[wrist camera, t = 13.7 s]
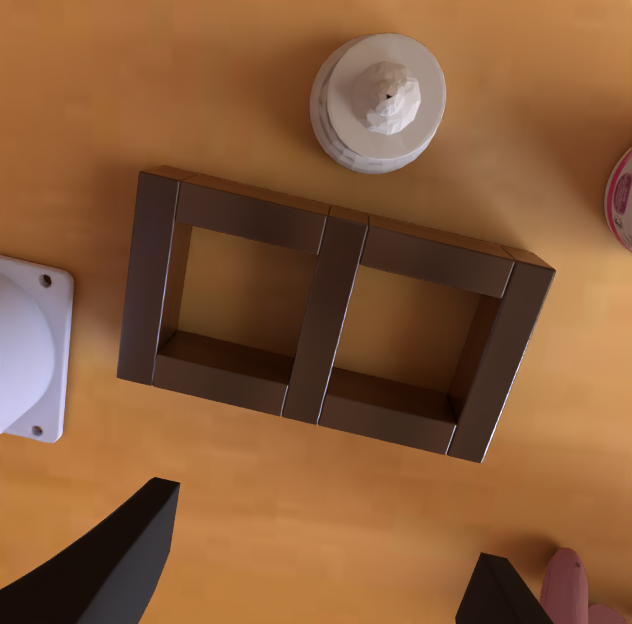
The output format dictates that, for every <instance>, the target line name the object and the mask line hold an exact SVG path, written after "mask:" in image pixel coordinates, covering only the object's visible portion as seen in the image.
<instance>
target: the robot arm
mask: <svg viewBox="0 0 632 624" xmlns="http://www.w3.org/2000/svg"><path fill="white" fill-rule="evenodd" d="M44 275H47V276H49V277H50V278H51V281H52V283H51V284H48V283H47V282H46V281H45V280H44ZM73 292H74V280H73V278H72V276H71V275H70V274H69V273H68V272H67V271H65V270H62V269H58V268H54V267H50V266H45V265H41V264H37V263H33V262H28V261H24V260H20V259H16V258H12V257H7V256H3V255H0V434H1V433H2V432H5V433H9V434H13V435H18V436H22V437H26V438H30V439H34V440H39V441H43V442H47V443H53V442H56V441H57V440H58V439H59V438H60V437H61V436H62V433H63V423H64V410H65V396H66V383H67V370H68V357H69V344H70V331H71V318H72V305H73ZM36 426H38V427H40V428H41V429H42V431H39V430H38V429H37V428H36ZM179 488H180V483H179V482H174V481H170V480H166V479H161V478H157V477H154V478H152V479H151V480H149V481H148V482H147V483H146V484H145V485H144V486H143V487H142V488H140V489H139V490H138V491H137V492H136V493H135V494H134V495H133V496H132V497H130V498H129V499H128V500H127V501H126V502H125V503H123V504H122V505H121V506H120V507H119V508H118V509H116V510H115V511H114V512H113V513H112V514H110V515H109V516H108V517H107V518H105V519H104V520H103V521H101V522H100V523H99V524H98V525H96V526H95V527H94V528H93V529H91V530H90V531H89V532H88V533H86V534H85V535H84V536H82V537H81V538H79V539H78V540H77V541H75V542H74V543H72V544H71V545H70V546H68V547H67V548H65V549H64V550H63V551H61V552H60V553H58V554H57V555H56V556H54V557H53V558H51V559H50V560H48V561H47V562H45V563H44V564H42V565H41V566H39V567H37V568H36V569H34V570H33V571H31V572H30V573H28V574H26V575H25V576H23V577H21V578H20V579H18V580H16V581H15V582H13V583H11V584H10V585H8V586H6V587H4V588H2V589H0V624H138V623H139V621H140V619H141V617H142V615H143V613H144V611H145V609H146V607H147V605H148V603H149V601H150V599H151V597H152V595H153V593H154V591H155V588H156V586H157V583H158V581H159V578H160V576H161V573H162V570H163V568H164V565H165V562H166V560H167V557H168V554H169V552H170V547H171V540H172V533H173V527H174V520H175V514H176V507H177V501H178V494H179ZM455 619H456V624H554V623H553V621H552V620H551V619H550V617H549V616H548V615H547V613H546V612H545V610H544V609H543V608H542V606H541V605H540V603H539V602H538V601H537V599H536V598H535V596H534V595H533V594H532V592H531V591H530V589H529V588H528V587H527V585H526V584H525V582H524V581H523V580H522V578H521V577H520V575H519V574H518V573H517V571H516V570H515V568H514V567H513V566H512V564H511V563H510V562H509V560H508V559H507V558H504V557H499V556H495V555H491V554H486V553H482V552H481V554H480V556H479V559H478V561H477V564H476V566H475V569H474V572H473V574H472V577H471V579H470V582H469V584H468V587H467V589H466V592H465V594H464V597H463V599H462V602H461V604H460V607H459V609H458V612H457V614H456V617H455Z"/></svg>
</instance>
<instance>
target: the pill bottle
mask: <svg viewBox="0 0 632 624" xmlns="http://www.w3.org/2000/svg"><path fill="white" fill-rule="evenodd" d="M604 210H605V216H606V220H607V223H608V226H609V228H610V230H611V231H612V233H613V235H614V236H615V237H616V239H617V240H618V241H619V242H620V243H621V244H622V245H623V246H624V247H625V248H627V249H628V250H629V251H631V252H632V147H631V148H630V149H629V150H628V151H627V152H626V153H625V154H624V155H623V156H622V157H621V159H620V160H619V161H618V163H617V164H616V166H615V167H614V169H613V171H612V173H611V175H610V177H609V180H608V183H607V186H606V191H605V197H604Z"/></svg>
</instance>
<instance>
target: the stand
mask: <svg viewBox="0 0 632 624" xmlns="http://www.w3.org/2000/svg"><path fill="white" fill-rule="evenodd" d="M192 226H196V227H201V228H205V229H209V230H213V231H218V232H222V233H226V234H230V235H234V236H239V237H243V238H247V239H251V240H255V241H260V242H264V243H268V244H272V245H277V246H281V247H285V248H289V249H293V250H298V251H302V252H306V253H310V254H314V255H318V254H319V256H318V260H317V265H316V269H315V273H314V278H313V282H312V286H311V291H310V295H309V299H308V304H307V308H306V312H305V317H304V321H303V325H302V330H301V334H300V338H299V342H298V347H297V351H296V355H295V358H293V357H289V356H285V355H280V354H276V353H272V352H268V351H263V350H259V349H255V348H251V347H247V346H242V345H238V344H234V343H230V342H225V341H221V340H217V339H213V338H208V337H204V336H200V335H196V334H192V333H187V332H183V331H179V330H178V331H177V326H178V319H179V312H180V306H181V299H182V292H183V285H184V279H185V272H186V265H187V258H188V252H189V245H190V238H191V231H192ZM359 263H360V265H361V266H366V267H370V268H374V269H378V270H382V271H387V272H391V273H395V274H399V275H403V276H408V277H412V278H416V279H420V280H425V281H429V282H433V283H437V284H441V285H446V286H450V287H454V288H458V289H462V290H467V291H471V292H475V293H479V294H482V297H481V300H480V302H479V305H478V308H477V311H476V314H475V317H474V320H473V323H472V326H471V329H470V332H469V334H468V337H467V340H466V343H465V346H464V349H463V352H462V355H461V358H460V361H459V363H458V366H457V369H456V372H455V375H454V378H453V381H452V384H451V387H450V390H449V393H448V395H447V394H445V393H440V392H436V391H432V390H428V389H423V388H419V387H415V386H411V385H406V384H402V383H398V382H394V381H390V380H385V379H381V378H377V377H373V376H368V375H364V374H360V373H356V372H352V371H347V370H343V369H339V368H335V367H333V363H334V359H335V355H336V351H337V347H338V344H339V340H340V336H341V332H342V328H343V324H344V320H345V316H346V313H347V309H348V305H349V301H350V297H351V293H352V289H353V285H354V282H355V278H356V274H357V270H358V266H359ZM555 273H556V270H555V269H554V268H552V267H551V266H550V265H548V264H547V263H546V262H545V261H543V260H542V259H541V258H539V257H538V256H537V255H535V254H534V253H531V252H527V251H523V250H519V249H514V248H510V247H506V246H499V245H497V244H494V243H489V242H485V241H481V240H477V239H473V238H468V237H464V236H460V235H456V234H452V233H447V232H443V231H439V230H435V229H431V228H426V227H422V226H418V225H414V224H410V223H405V222H401V221H397V220H393V219H388V218H384V217H380V216H376V215H372V214H369V215H367V213H363V212H359V211H355V210H351V209H347V208H342V207H338V206H334V205H332V206H331V205H330V204H326V203H321V202H317V201H313V200H309V199H305V198H300V197H296V196H292V195H288V194H284V193H279V192H275V191H271V190H267V189H262V188H258V187H254V186H250V185H246V184H241V183H237V182H233V181H229V180H225V179H220V178H216V177H212V176H208V175H204V174H200V175H199V173H195V172H191V171H187V170H182V169H178V168H174V167H170V166H166V165H164V166H160V167H156V168H151V169H147V170H143V171H140V172H139V178H138V187H137V196H136V205H135V214H134V223H133V232H132V241H131V250H130V259H129V268H128V277H127V286H126V295H125V304H124V313H123V322H122V331H121V340H120V349H119V358H118V367H117V378H120V379H124V380H128V381H132V382H137V383H141V384H145V385H149V386H152V385H153V386H154V387H158V388H162V389H166V390H170V391H175V392H179V393H183V394H187V395H192V396H196V397H200V398H204V399H208V400H213V401H217V402H221V403H225V404H230V405H234V406H238V407H242V408H247V409H251V410H255V411H259V412H263V413H268V414H272V415H276V416H281V415H282V417H285V418H289V419H293V420H297V421H302V422H306V423H310V424H314V425H317V424H318V425H320V426H324V427H328V428H332V429H336V430H341V431H345V432H349V433H353V434H357V435H362V436H366V437H370V438H374V439H379V440H383V441H387V442H391V443H396V444H400V445H404V446H408V447H412V448H417V449H421V450H425V451H429V452H434V453H438V454H442V455H446V454H447V455H448V456H451V457H455V458H460V459H464V460H468V461H472V462H477V463H482V462H483V459H484V457H485V454H486V451H487V449H488V446H489V444H490V441H491V439H492V436H493V433H494V431H495V428H496V426H497V423H498V420H499V418H500V415H501V413H502V410H503V407H504V405H505V402H506V400H507V397H508V395H509V392H510V389H511V387H512V384H513V382H514V379H515V376H516V374H517V371H518V369H519V366H520V364H521V361H522V358H523V356H524V353H525V351H526V348H527V345H528V343H529V340H530V338H531V335H532V333H533V330H534V327H535V325H536V322H537V320H538V317H539V314H540V312H541V309H542V307H543V304H544V301H545V299H546V296H547V294H548V291H549V289H550V286H551V283H552V281H553V278H554V276H555Z"/></svg>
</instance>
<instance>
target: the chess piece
mask: <svg viewBox="0 0 632 624" xmlns="http://www.w3.org/2000/svg"><path fill="white" fill-rule="evenodd" d="M445 104H446V85H445V80H444V76H443V72H442V70H441V68H440V66H439V64H438V62H437V60H436V58H435V56H434V55H433V54H432V53H431V52H430V51H429V50H428V49H427V48H426V47H425V46H424V45H423V44H421V43H420V42H418V41H416V40H415V39H413V38H411V37H409V36H405V35H401V34H397V33H383V34H373V35H364V36H361V37H358V38H355V39H353V40H350V41H348V42H346V43H345V44H344V45H342V46H341V47H339V48H338V49H336V50H335V51H334V52H333V53H332V54H331V55H330V56H329V57H328V59H327V60H326V61H325V62H324V63H323V64H322V66H321V68H320V70H319V72H318V74H317V76H316V78H315V80H314V82H313V87H312V91H311V96H310V119H311V123H312V126H313V130H314V133H315V136H316V138H317V139H318V141H319V143H320V144H321V146H322V148H323V150H324V151H325V152H326V153H327V154H328V155H329V156H330V157H331V158H332V159H333V160H334V161H335V162H337V163H338V164H340V165H342V166H344V167H345V168H347V169H349V170H351V171H355V172H359V173H363V174H385V173H388V172H391V171H395V170H398V169H400V168H402V167H404V166H405V165H407V164H409V163H410V162H412V161H414V160H415V159H416V158H417V157H418V156H419V155H420V154H421V153H422V152H423V151H424V150H425V149H426V148H427V146H428V144H429V143H430V141H431V139H432V138H433V136H434V134H435V132H436V130H437V127H438V125H439V123H440V122H441V119H442V115H443V112H444V108H445Z"/></svg>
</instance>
